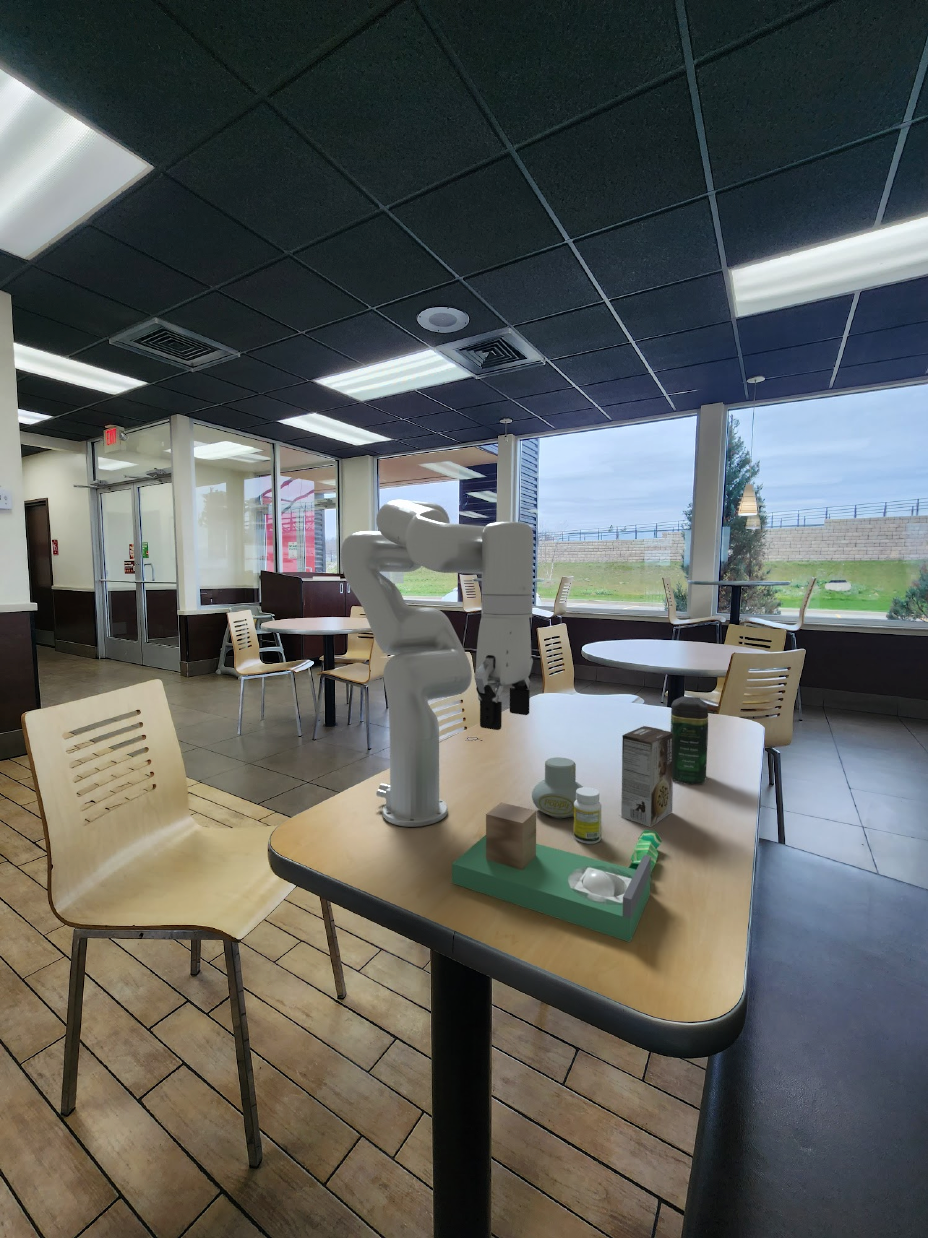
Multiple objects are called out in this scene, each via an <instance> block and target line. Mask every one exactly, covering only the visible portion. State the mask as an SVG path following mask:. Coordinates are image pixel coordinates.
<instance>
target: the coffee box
mask: <svg viewBox="0 0 928 1238" xmlns="http://www.w3.org/2000/svg"><path fill="white" fill-rule="evenodd" d="M621 742H622V745H621V747H622V750H621V753H622V754H621V757H622V758H621V811H620V813H621V815H620V816H621V818H623V819H627V820H629V821H632V822H634V823H638V824H641V825H644V826H646V827H649V828H650V827H651V828H652V827H653V826H655V825H656V824H658V823H659V822H660V821H662V820H663V819H665V818H666V817H667V816H669V815H670V814H671V813H673V796H674V795H673V792H674V791H673V790H674V787H673V785H674V782H673V781H674V780H673V732H671V731H669V730H664V729H661V728H657V727H651V726H647V725H642V726H640V727H639V728H636V729H633V730H632V731H628V732H627V733H625V734H624V733H623V734H622V740H621Z"/></svg>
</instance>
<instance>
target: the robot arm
mask: <svg viewBox="0 0 928 1238" xmlns="http://www.w3.org/2000/svg"><path fill="white" fill-rule="evenodd" d="M450 521H451V520H450V517H449V514H448V513H447V511H446V510H445V509H444V507H443V506H441V505H439V504H437V503H433V502H426V501H425V502H424V501H417V500H415V501H414V500H407V499H406V500H405V499H395V500H390V501H387V502H386V503H384V504H383V505H382V506H381V507H380V508H379V510H378V512H377V514H376V521H375V522H376V526H377V527H376V528H377V529H378V531H376V530H367V531H366V530H365V531H364V530H363V531H358V532H354V533H351V534H349V535H348V536H347V537H346V538H345V539H344V540H343V543H342V545H341V548H340V549H341V550H340V561H341V567H342V569H341V570H342V572H343V575H344V577H345V578H344V579H345V580H346V582H347V585H348V586H349V588H350V590H351V591H352V592H353V594H354V595H355V597H356V598H357V600H358V601H359V603H360V605H361V607H362V609H363V612H364V615H365V616H366V619H367V622H368V624H369V627H370V630H371V632H372V634H373V637H374V640H375V642H376V644H377V646H378V648H379V649H380V650H381V651H382V653H384V654H386V655H391V656H392V657H390V658H389V659H388V660H387V662H386V663H385V665H384V668H383V682H384V683H383V684H384V687H385V688H384V689H385V693H386V698H387V705H388V706H387V707H388V708H387V709H388V718H389V719H388V721H389V722H388V723H389V724H388V725H389V727H388V728H389V783H385V782H381V783H380V784H379V786H378V787H379V788H378V789H377V790H376V796H377V797H379V798H383V799H385V804H384V805H383V807H382V810H381V811H382V814H383V815H382V817H383V818H385V819H386V820H385V819H384V820H385V821H387V822H388V823H390V824H392V825H395V826H399V827H400V826H401V827H407V828H408V827H409V828H410V827H411V828H412V827H413V828H414V827H424V826H430V825H432V824H433V825H434V824H436V823H438V822H440V821H442V820H443V819H445V818H446V816H447V815H448V804H447V802H446V801H444V800H442V799H441V798H440V724H439V719H438V717H437V715H436V713H435V712H434V710H433V709H432V708H431V706H430V704H429V703H428V702H429V701H430V700H434V699H440V698H447V697H454V696H458V695H461V694H463V693H464V692H466V691H467V690H468V689H469V687H470V686H471V683H472V679H474V682H475V684H476V685H475V686H476V688H475V689H476V692H477V694H478V696H477V699H478V701H479V726H480V728H483V729H488V730H494V731H499V730H501V729H502V725H503V724H502V721H503V719H502V718H503V717H502V709H503V708H502V707H503V705H502V704H503V703H502V701H499V700H500V698H501V695H502V692H503V690H504V688H505V687H508V686H511V687H509V713H510V714H514V715H515V714H516V715H520V716H528V715H529V714H530V693H531V692H530V691H531V690H530V689H531V686H532V683H531V681H530V679H532V674H533V673H532V668H533V663H534V659H533V657H532V640H531V639H532V638H531V637H532V636H531V624H530V623H531V622H530V618H533V586H534V585H533V584H534V583H533V582H534V581H533V579H534V578H533V577H534V572H533V571H534V567H533V566H534V533H533V531H534V530H533V529H532V526H530V524H527V523H525V522H520V521H519V522H517V521H496V522H491V523H488V524H487V525H485V526H484V525H471V524H463V523H461V524H460V523H451V522H450ZM421 567H423V568H425V569H428V570H430V571H433V572H437V573H442V574H477V575H478V574H481V612H480V613H481V618H480V621H479V622H480V623H479V628H478V634H477V635H478V636H477V645H476V658H475V661H476V662H475V673H474V678H473V671H472V667H471V662H470V660H469V657H468V655H467V653H466V651H465V649H464V647H463V645H462V643H461V641H460V639H459V637H458V635H457V633H456V631H455V629H454V625H452V623H451V621H450V619H449V617H448V616H447V615H446V614H445V613H444V612H443V611H441V610H439V609H437V608H434V607H414V606H413V607H411V606H409V605H408V604H407V602H405V599H404V597H403V594H402V592H401V591H400V589H399V588H398V587H397V585H395V584H394V582H393V581H392V580H390V579H389V578H388V577H386V576H385V575H383V574H382V572H386V573H387V572H388V573H389V572H391V573H392V572H393V573H410V572H411V573H412V572H415V571H416V570H419V569H420V568H421ZM493 688H494V689H493Z"/></svg>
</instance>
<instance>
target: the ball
mask: <svg viewBox="0 0 928 1238" xmlns="http://www.w3.org/2000/svg"><path fill="white" fill-rule="evenodd" d="M582 884H583V887H584V888H585V889H587V890H588V891H590V892H591V893H593V894H596V895H600V896H603V897H615V896H614V893H615V888H614V884H613V881H612V879H611V878H610V877H609V876H608V875H607V874H606V873H604V872H602V871H592V872H589V873H588V874H587V875H586V876H585V877H584V879H583V882H582Z"/></svg>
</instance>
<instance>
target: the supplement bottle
mask: <svg viewBox="0 0 928 1238" xmlns="http://www.w3.org/2000/svg"><path fill="white" fill-rule="evenodd" d="M573 838H574V839H575V840H576V841H578V842H580V843H583V844H588V845H594V844H597V843H600V841H601V839H602V803H601V801H600V791H599V790H598V789H596V788H593V787H588V786H587V787H586V786H585V787H584V786H583V787H581V788H578V789H577V790H576V800H575V802H574V816H573Z"/></svg>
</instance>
